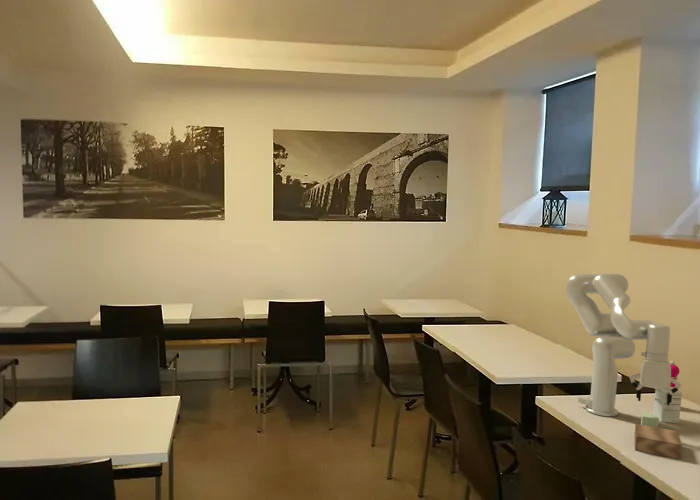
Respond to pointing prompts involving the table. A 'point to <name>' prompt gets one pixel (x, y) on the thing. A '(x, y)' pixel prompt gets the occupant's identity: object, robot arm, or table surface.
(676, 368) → the pepper mill
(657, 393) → the supplement box
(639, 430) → the walnut riser block
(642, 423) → the sage block
